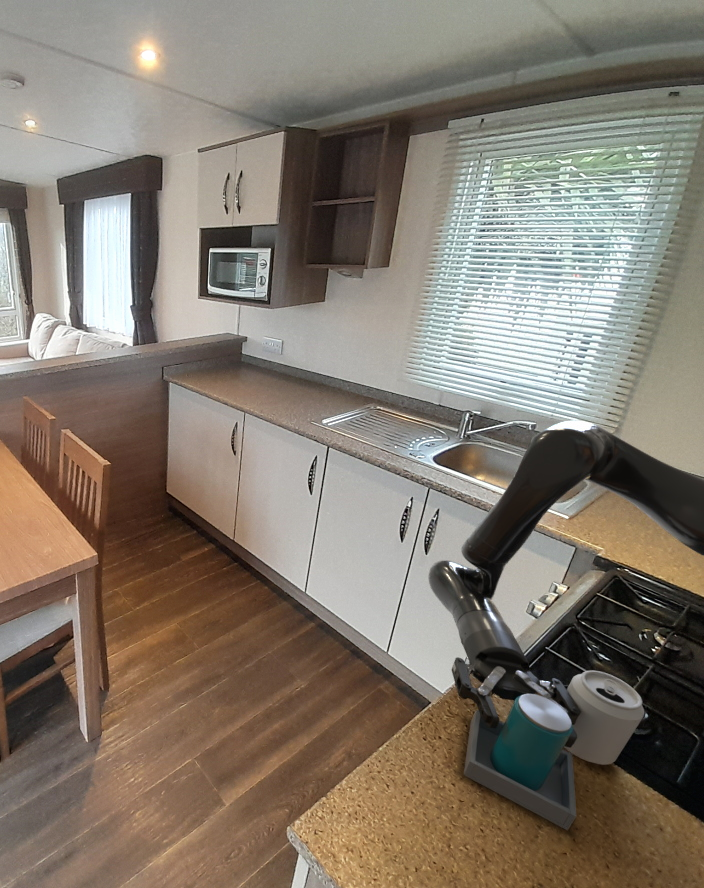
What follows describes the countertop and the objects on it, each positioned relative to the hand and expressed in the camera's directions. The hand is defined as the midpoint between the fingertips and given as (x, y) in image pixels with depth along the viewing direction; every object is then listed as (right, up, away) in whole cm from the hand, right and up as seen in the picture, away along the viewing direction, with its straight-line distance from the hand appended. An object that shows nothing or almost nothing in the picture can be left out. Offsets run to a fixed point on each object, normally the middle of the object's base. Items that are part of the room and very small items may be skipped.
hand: (531, 733), depth 66 cm
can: (+13, -6, +7) cm, 15 cm away
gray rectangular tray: (0, -7, +3) cm, 8 cm away
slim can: (0, -7, +3) cm, 7 cm away
